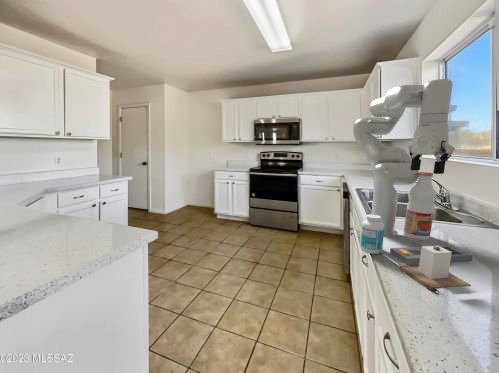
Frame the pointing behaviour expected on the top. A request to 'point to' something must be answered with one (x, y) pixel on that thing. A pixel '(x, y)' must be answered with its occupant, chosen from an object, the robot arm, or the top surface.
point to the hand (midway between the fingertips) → (426, 171)
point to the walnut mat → (432, 283)
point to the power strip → (413, 254)
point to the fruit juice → (420, 208)
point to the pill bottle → (372, 235)
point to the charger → (434, 262)
